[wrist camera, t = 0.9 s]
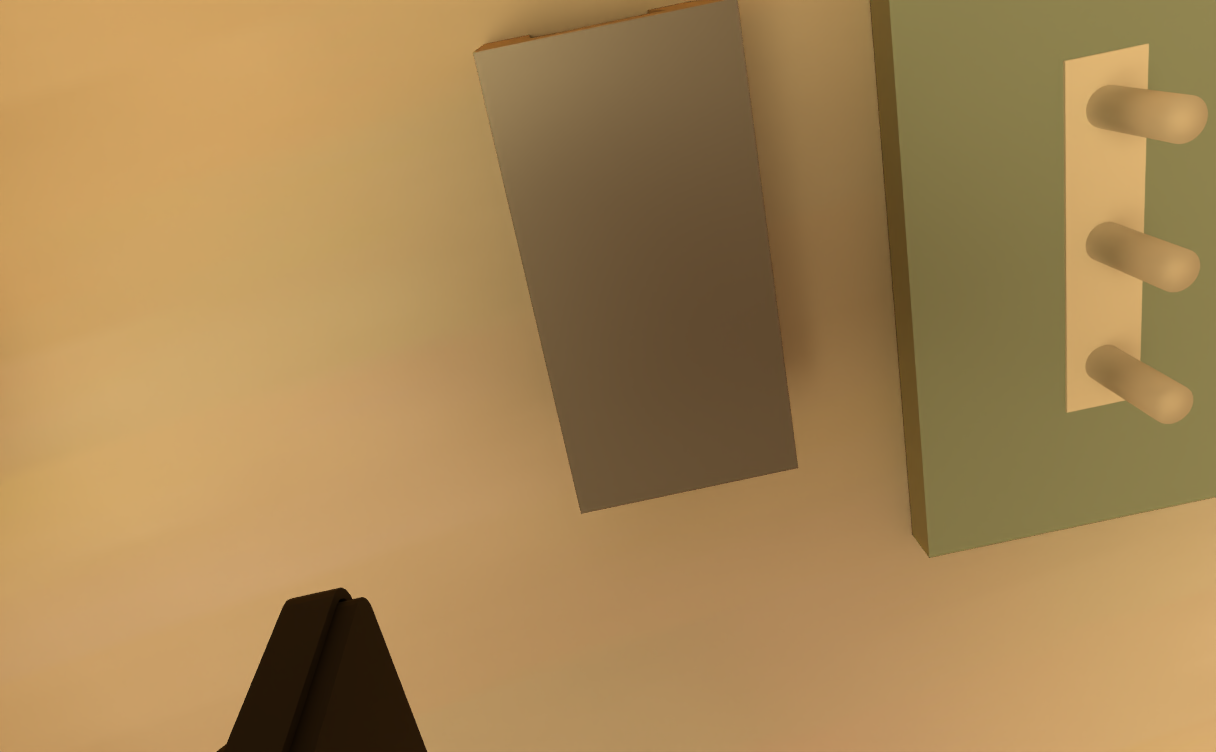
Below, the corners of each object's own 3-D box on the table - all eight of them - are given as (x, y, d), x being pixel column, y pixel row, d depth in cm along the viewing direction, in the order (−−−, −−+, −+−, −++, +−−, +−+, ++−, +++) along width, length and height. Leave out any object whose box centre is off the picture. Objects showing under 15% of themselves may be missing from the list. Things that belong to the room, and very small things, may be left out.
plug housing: (748, 385, 31) (797, 467, 25) (571, 422, 31) (581, 513, 25) (692, 0, 26) (736, -2, 21) (484, 44, 26) (472, 52, 21)
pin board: (1239, 465, 33) (1355, 539, 29) (912, 534, 33) (974, 619, 29) (1286, -163, 26) (1452, -201, 21) (864, -75, 26) (938, -94, 21)
